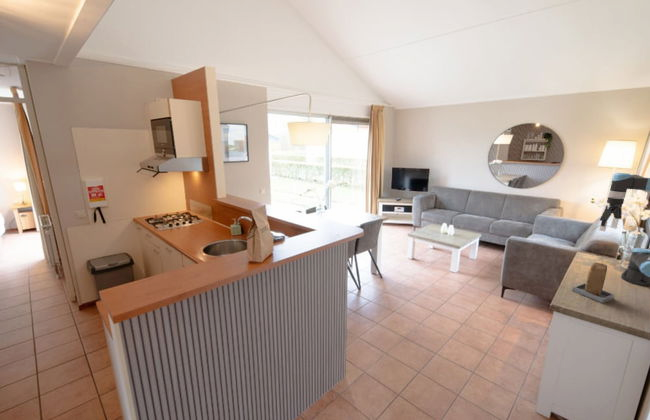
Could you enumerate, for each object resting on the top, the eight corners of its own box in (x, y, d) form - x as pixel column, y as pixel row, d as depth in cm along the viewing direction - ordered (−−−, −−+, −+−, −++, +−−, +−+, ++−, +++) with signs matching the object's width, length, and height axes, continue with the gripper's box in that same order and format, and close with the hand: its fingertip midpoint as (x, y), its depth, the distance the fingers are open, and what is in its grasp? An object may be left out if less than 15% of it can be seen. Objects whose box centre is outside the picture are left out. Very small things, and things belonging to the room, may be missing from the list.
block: (598, 299, 177) (606, 269, 171) (582, 294, 183) (589, 265, 177) (602, 292, 183) (610, 263, 178) (587, 288, 189) (594, 259, 184)
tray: (583, 286, 192) (584, 282, 192) (613, 298, 179) (614, 294, 178) (571, 290, 188) (572, 286, 187) (602, 303, 174) (603, 299, 173)
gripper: (619, 194, 194) (610, 225, 200) (598, 198, 185) (590, 230, 190) (634, 197, 188) (625, 228, 193) (613, 200, 178) (604, 233, 184)
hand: (607, 229), depth 192 cm, fingers open, 13 cm apart
